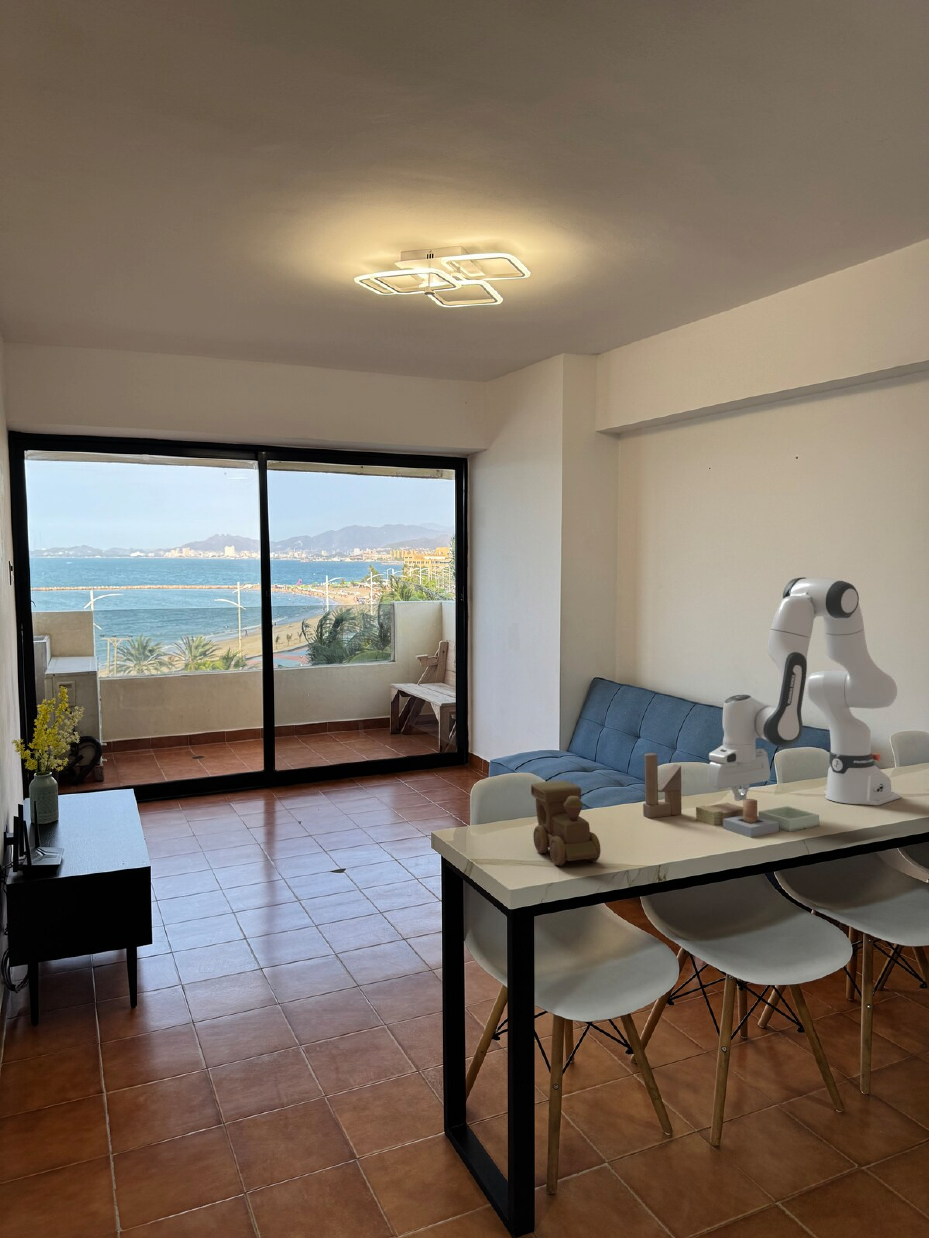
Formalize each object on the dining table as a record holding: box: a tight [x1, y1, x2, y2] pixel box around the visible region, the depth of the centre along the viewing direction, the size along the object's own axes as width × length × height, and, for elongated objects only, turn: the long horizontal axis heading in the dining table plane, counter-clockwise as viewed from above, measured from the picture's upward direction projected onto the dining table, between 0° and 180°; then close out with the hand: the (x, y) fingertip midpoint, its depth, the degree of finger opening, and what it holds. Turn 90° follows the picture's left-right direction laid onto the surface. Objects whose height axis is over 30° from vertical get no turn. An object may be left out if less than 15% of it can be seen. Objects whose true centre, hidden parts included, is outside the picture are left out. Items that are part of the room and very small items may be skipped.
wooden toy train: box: [530, 780, 601, 867], centre depth 209 cm, size 20×11×17 cm, turn 17°
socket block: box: [722, 815, 779, 838], centre depth 228 cm, size 10×10×2 cm
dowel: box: [742, 798, 758, 824], centre depth 228 cm, size 4×4×8 cm
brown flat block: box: [707, 802, 743, 825], centre depth 240 cm, size 9×8×4 cm
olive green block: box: [695, 805, 723, 826], centre depth 237 cm, size 3×7×4 cm, turn 27°
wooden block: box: [642, 752, 682, 819], centre depth 245 cm, size 4×11×18 cm, turn 109°
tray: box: [757, 805, 820, 832], centre depth 233 cm, size 11×11×3 cm
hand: (740, 799), depth 244 cm, fingers closed
